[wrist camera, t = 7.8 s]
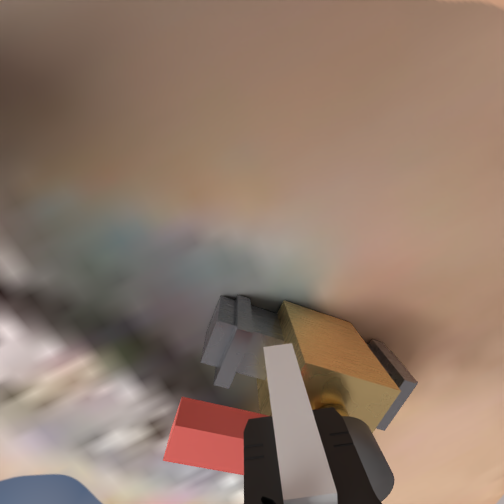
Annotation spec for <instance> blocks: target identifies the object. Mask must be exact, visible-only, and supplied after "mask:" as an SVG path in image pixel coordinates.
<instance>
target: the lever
mask: <svg viewBox="0 0 504 504" xmlns="http://www.w3.org/2000/svg"><path fill="white" fill-rule="evenodd" d="M260 417H268V415H263V414H259V413H254V412H250V411H245V410H240V409H236V408H231V407H227V406H222V405H217V404H213V403H208V402H204V401H199V400H194V399H190V398H185V397H182V398H181V401H180V404H179V407H178V410H177V413H176V416H175V419H174V422H173V425H172V428H171V432H170V436H169V440H168V443H167V447H166V451H165V455H164V459H163V461H168V462H174V463H179V464H185V465H190V466H196V467H202V468H207V469H213V470H218V471H224V472H229V473H235V474H241V475H244V434H243V432H244V429H245V427H246V424H247V421H248V419H253V418H260ZM342 417H343V419H344V421H345V424H346V426H347V429H348V431H349V434H350V436H351V438H352V440H353V443H354V445H355V448H356V450H357V452H358V455H359V457H360V460H361V462H362V464H363V467H364V469H365V471H366V474H367V476H368V479H369V481H370V483H371V486H372V488H373V490H374V492H375V494H376V496H377V498H378V499H379V500H380V502H381V501H383V500H384V499H385V498H386V497H387V496H388V495H389V494H390V492H391V490H392V488H393V485H394V476H393V473H392V471H391V469H390V467H389V465H388V463H387V461H386V459H385V457H384V455H383V453H382V451H381V450H380V448H379V446H378V444H377V442H376V440H375V438H374V436H373V434H372V432H371V430H370V428H369V426H368V425H367V424H366V423H365V422H364V421H362V420H360V419H358V418H355V417H350V416H342Z"/></svg>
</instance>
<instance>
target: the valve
mask: <svg viewBox="0 0 504 504" xmlns="http://www.w3.org/2000/svg"><path fill="white" fill-rule="evenodd" d="M290 343H292V345H293V349H294V352H295V355H296V359H297V362H298V365H299V368H300V372H301V375H302V378H303V382H304V385H305V388H306V392H307V395H308V398H309V402H310V405H311V408H312V410H314V409H322V408H329V407H334V408H335V410H336V411H337V412H338V413H339V414H340V415H341V416H350V417H355V418H358V419H360V420H362V421H364V422H365V423H366V424H367V425H368V426H369V428H370V430H371V432H372V433H373V431H374V430H375V429H376V428H377V429H381V430H384V431H385V429H386V428H387V426H388V425H389V424H390V422H391V421H392V419H393V418H394V417H395V415H396V414H397V412H398V411H399V409H400V408H401V407H402V405H403V404H404V402H405V401H406V399H407V398H408V397H409V395H410V394H411V392H412V391H413V389H414V388H415V387H416V385H417V383H418V382H417V381H416V380H415V378H414V377H413V376H412V375H411V374H410V372H409V371H408V370H407V369H406V368H405V367H404V365H403V364H402V363H401V362H400V361H399V360H398V358H397V357H396V356H395V355H394V354H393V352H392V351H389V350H388V348H387V347H386V346H385V345H384V344H383V342H380V341H377V340H374V339H372V340H371V341H370V343H369V344H368V343H365V342H364V340H363V339H362V338H361V336H360V335H359V334H358V332H357V331H356V329H355V328H354V327H353V325H352V324H351V323H350V322H347V321H344V320H341V319H338V318H335V317H332V316H329V315H326V314H323V313H320V312H317V311H314V310H311V309H308V308H305V307H302V306H299V305H296V304H293V303H290V302H287V301H284V300H283V303H282V305H281V307H280V309H279V311H278V313H277V314H276V313H273V312H270V311H267V310H264V309H261V308H257V307H254V306H251V300H250V299H249V298H246V297H243V296H240V295H238V296H237V298H236V300H233V299H230V298H227V297H224V296H220V299H219V301H218V304H217V306H216V309H215V312H214V314H213V317H212V319H211V322H210V324H209V327H208V329H207V332H206V337H205V342H204V347H203V352H202V357H201V363H205V364H208V365H212V366H215V367H216V368H215V377H214V385H216V386H220V387H224V388H227V389H229V387H230V385H231V382H232V380H233V378H234V376H235V374H236V372H237V373H240V374H244V375H248V376H251V377H255V378H257V386H258V397H259V408H260V414H263V415H268V416H272V410H271V403H270V395H269V387H268V380H267V372H266V364H265V356H264V349H263V347H267V346H275V345H282V344H290Z"/></svg>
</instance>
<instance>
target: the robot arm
mask: <svg viewBox="0 0 504 504" xmlns="http://www.w3.org/2000/svg"><path fill="white" fill-rule="evenodd" d="M263 349H264V356H265V364H266V372H267V380H268V387H269V395H270V403H271V410H272V416H268V417H260V418H253V419H248V421H247V424H246V427H245V429H244V432H243V434H244V504H382V503H381V502H380V500H379V499H378V498H377V496H376V494H375V492H374V490H373V488H372V486H371V483H370V481H369V479H368V476H367V474H366V471H365V469H364V467H363V464H362V462H361V460H360V457H359V455H358V452H357V450H356V448H355V445H354V443H353V440H352V438H351V436H350V434H349V431H348V429H347V426H346V424H345V421H344V419H343V417H342V416H341V415H340V414H339V413H338V412H337V411H336V410H335V408H334V407H329V408H322V409H314V410H312V408H311V405H310V402H309V398H308V395H307V392H306V388H305V385H304V382H303V378H302V375H301V372H300V368H299V365H298V362H297V359H296V355H295V352H294V349H293V345H292V343H290V344H282V345H275V346H267V347H263Z"/></svg>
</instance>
